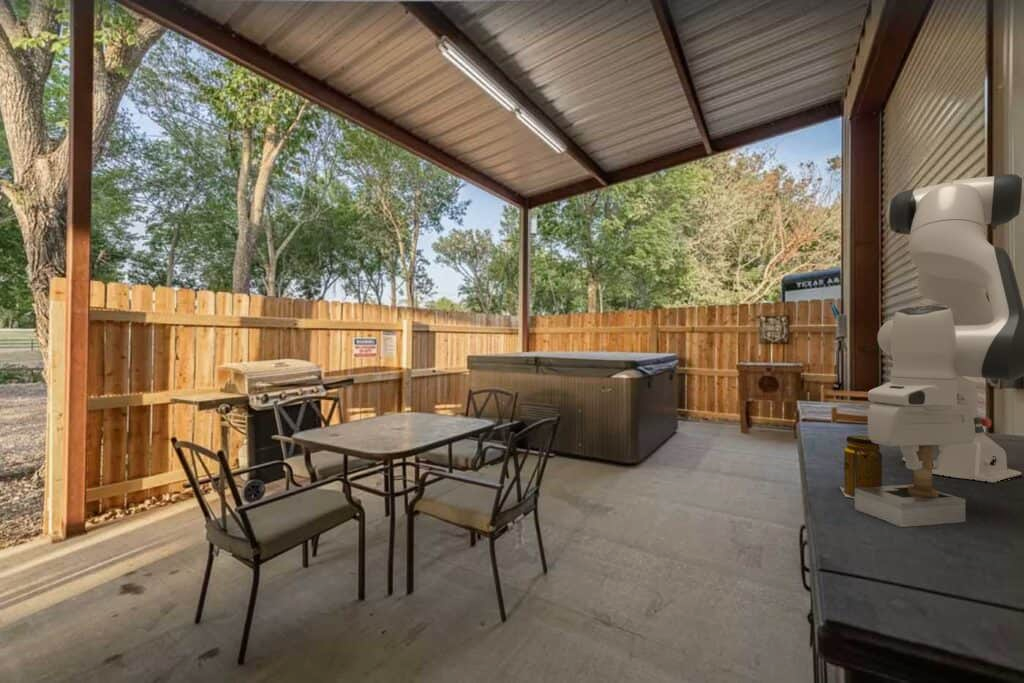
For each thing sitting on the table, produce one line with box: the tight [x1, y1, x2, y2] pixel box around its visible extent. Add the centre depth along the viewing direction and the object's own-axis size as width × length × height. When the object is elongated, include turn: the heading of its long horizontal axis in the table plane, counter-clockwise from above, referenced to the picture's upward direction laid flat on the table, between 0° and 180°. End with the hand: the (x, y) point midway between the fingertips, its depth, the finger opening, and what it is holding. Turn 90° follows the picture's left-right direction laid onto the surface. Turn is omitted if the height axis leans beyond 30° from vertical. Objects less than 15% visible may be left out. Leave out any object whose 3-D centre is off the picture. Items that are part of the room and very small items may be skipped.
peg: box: [908, 445, 939, 499], centre depth 77 cm, size 4×4×10 cm
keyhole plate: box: [854, 483, 966, 528], centre depth 77 cm, size 14×8×4 cm, turn 101°
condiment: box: [839, 435, 883, 499], centre depth 87 cm, size 7×8×12 cm
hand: (922, 468), depth 77 cm, fingers closed on peg, 2 cm apart
